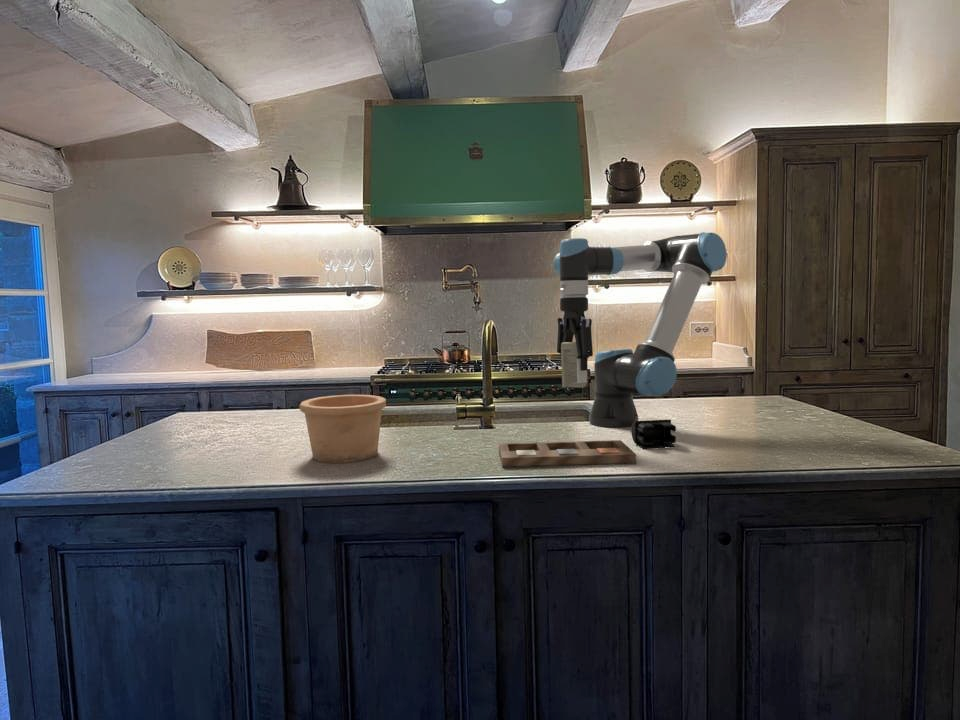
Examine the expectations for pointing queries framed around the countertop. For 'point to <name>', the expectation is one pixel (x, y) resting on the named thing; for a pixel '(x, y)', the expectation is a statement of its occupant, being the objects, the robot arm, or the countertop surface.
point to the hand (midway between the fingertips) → (574, 380)
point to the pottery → (343, 427)
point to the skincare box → (570, 365)
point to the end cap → (653, 433)
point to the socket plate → (565, 454)
